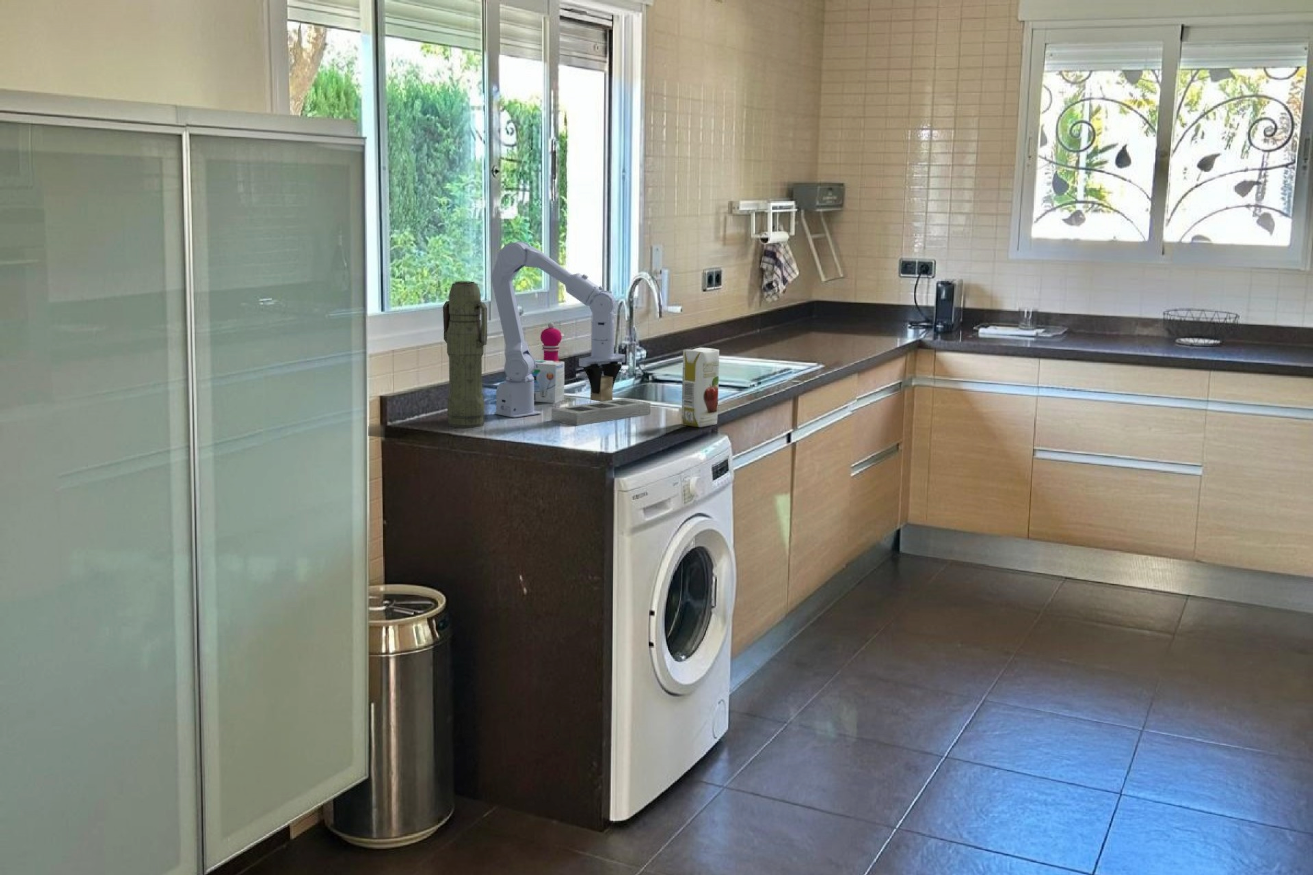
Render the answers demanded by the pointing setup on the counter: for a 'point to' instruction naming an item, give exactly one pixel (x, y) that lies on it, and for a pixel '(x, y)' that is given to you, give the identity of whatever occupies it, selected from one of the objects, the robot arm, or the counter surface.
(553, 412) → the rail
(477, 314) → the thermos
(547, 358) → the pepper mill
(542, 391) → the light bulb box
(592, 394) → the peg
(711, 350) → the juice carton
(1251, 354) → the counter surface
